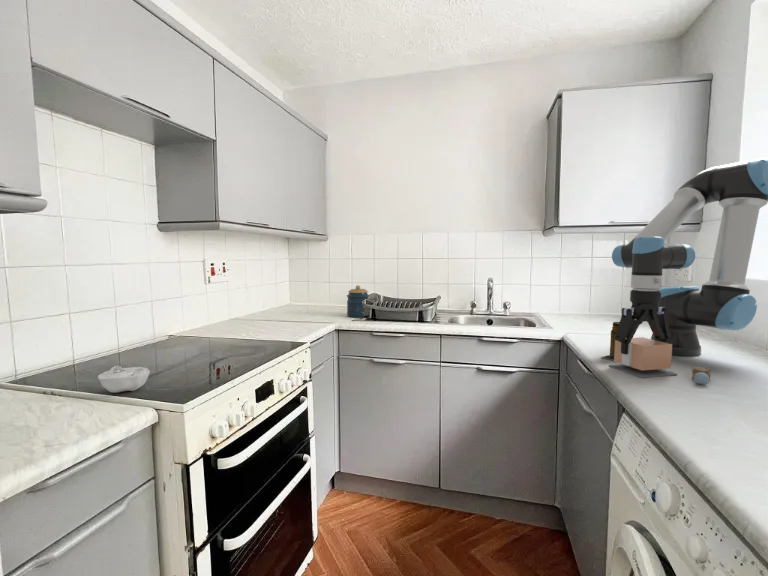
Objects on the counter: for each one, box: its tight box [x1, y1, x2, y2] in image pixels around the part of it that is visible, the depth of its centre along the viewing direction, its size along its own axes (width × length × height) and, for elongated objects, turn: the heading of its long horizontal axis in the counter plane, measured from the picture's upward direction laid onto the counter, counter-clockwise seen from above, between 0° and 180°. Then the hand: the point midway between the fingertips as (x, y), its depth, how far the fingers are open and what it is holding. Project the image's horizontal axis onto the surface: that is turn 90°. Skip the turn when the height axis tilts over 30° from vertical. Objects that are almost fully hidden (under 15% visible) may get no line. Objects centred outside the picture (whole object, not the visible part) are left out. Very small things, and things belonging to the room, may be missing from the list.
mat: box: [608, 363, 678, 379], centre depth 116 cm, size 12×12×1 cm
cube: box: [691, 366, 712, 381], centre depth 107 cm, size 3×3×3 cm
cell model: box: [97, 365, 151, 393], centre depth 102 cm, size 10×12×7 cm
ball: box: [693, 372, 710, 386], centre depth 103 cm, size 3×3×3 cm
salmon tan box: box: [613, 336, 673, 370], centre depth 116 cm, size 10×10×7 cm
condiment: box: [601, 321, 620, 362], centre depth 129 cm, size 7×8×12 cm
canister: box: [346, 285, 370, 318], centre depth 221 cm, size 13×13×18 cm
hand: (641, 363), depth 116 cm, fingers closed on salmon tan box, 10 cm apart
